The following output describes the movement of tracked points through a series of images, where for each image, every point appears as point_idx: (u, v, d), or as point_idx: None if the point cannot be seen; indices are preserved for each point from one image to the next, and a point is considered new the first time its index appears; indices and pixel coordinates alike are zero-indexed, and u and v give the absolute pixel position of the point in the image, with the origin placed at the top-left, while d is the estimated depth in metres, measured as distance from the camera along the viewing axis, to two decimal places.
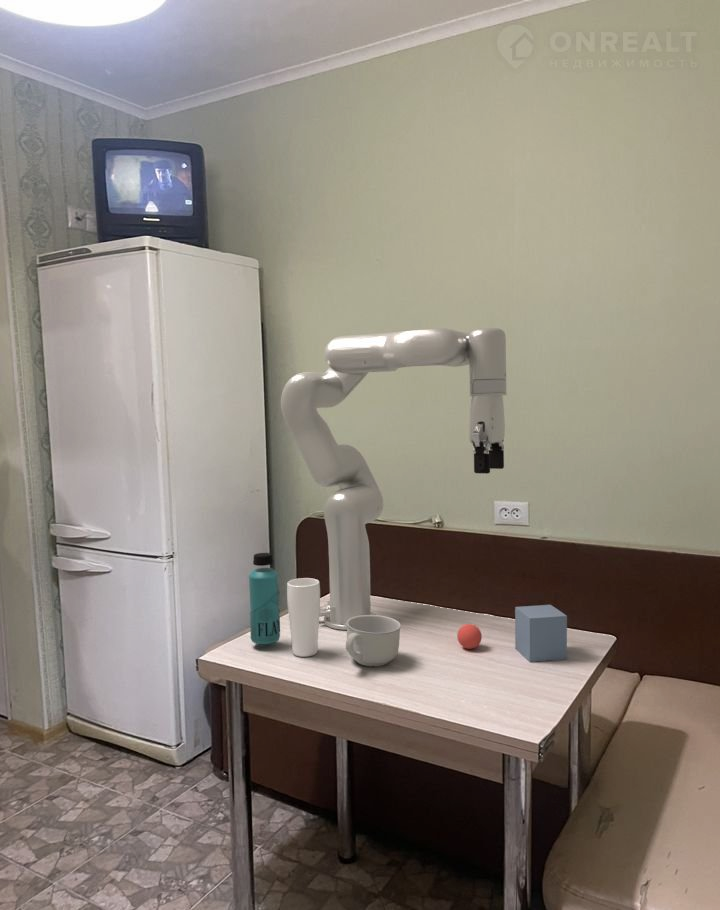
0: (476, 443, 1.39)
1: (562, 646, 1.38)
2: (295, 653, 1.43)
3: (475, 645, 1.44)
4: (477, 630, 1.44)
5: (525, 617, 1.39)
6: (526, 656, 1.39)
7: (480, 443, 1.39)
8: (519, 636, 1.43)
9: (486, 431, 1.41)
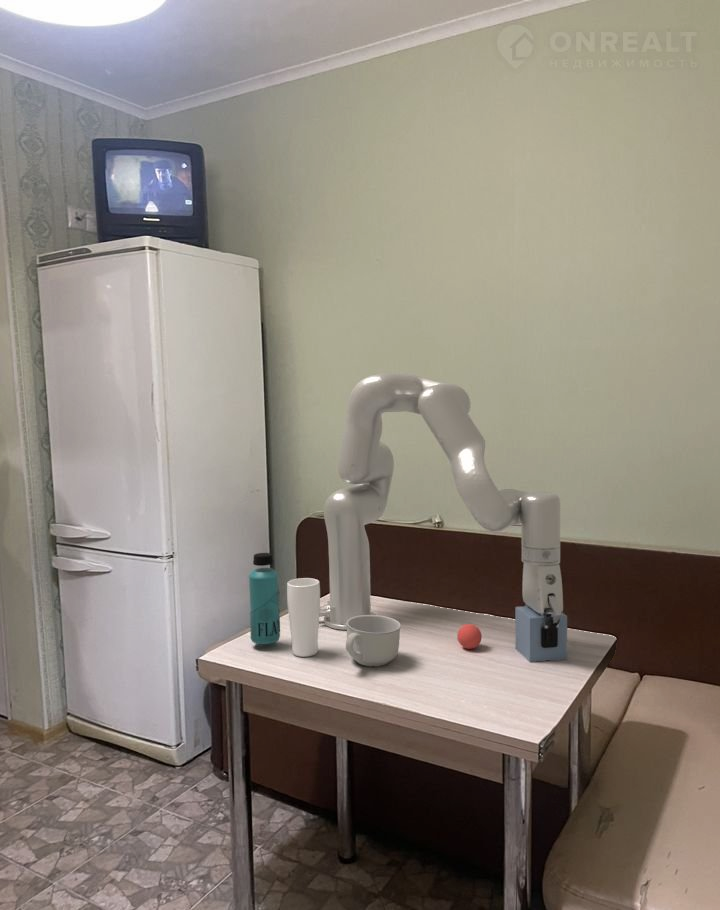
0: None
1: (562, 646, 1.38)
2: (295, 653, 1.43)
3: (475, 645, 1.44)
4: (477, 630, 1.44)
5: (525, 617, 1.39)
6: (526, 656, 1.39)
7: None
8: (519, 636, 1.43)
9: None
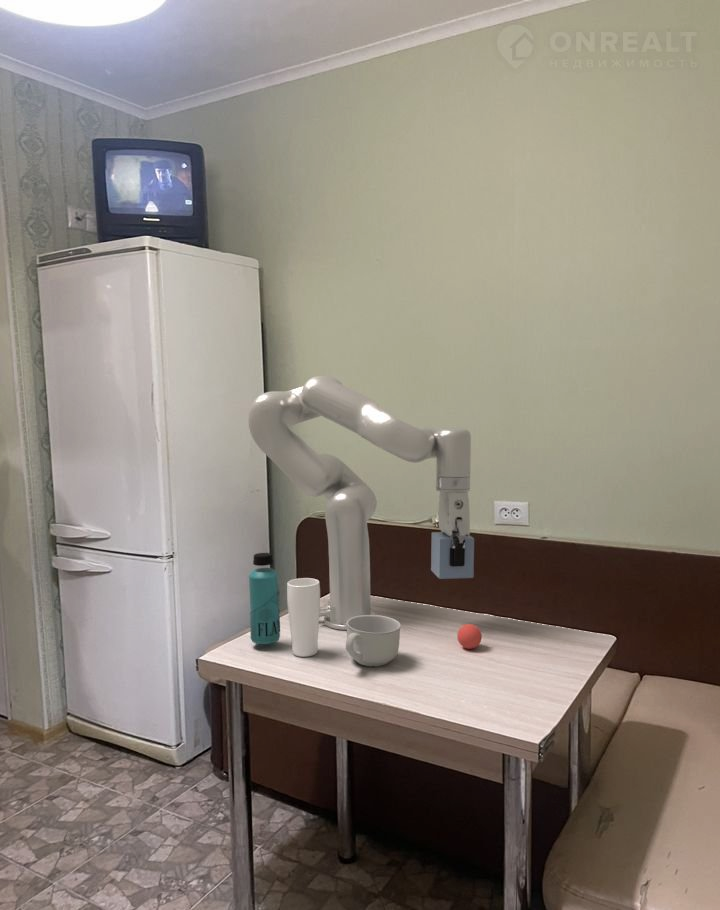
0: None
1: (469, 566, 1.54)
2: (295, 653, 1.43)
3: (475, 645, 1.44)
4: (477, 630, 1.44)
5: (437, 539, 1.54)
6: (437, 574, 1.55)
7: None
8: (433, 558, 1.58)
9: None
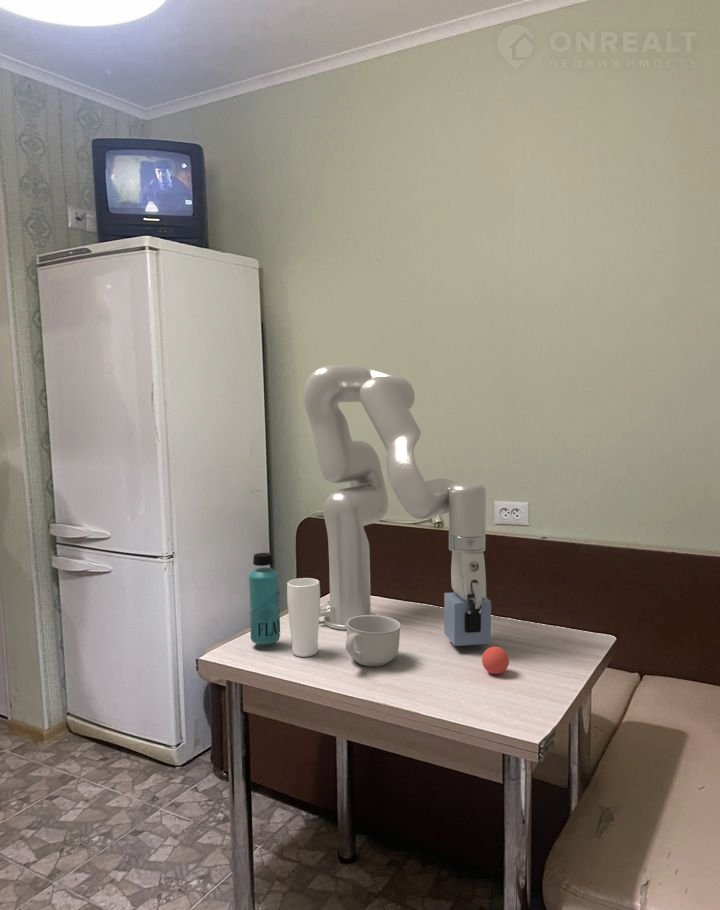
0: None
1: (486, 631, 1.43)
2: (295, 653, 1.43)
3: (502, 659, 1.30)
4: (500, 648, 1.33)
5: (451, 602, 1.44)
6: (452, 640, 1.44)
7: None
8: (447, 621, 1.48)
9: None
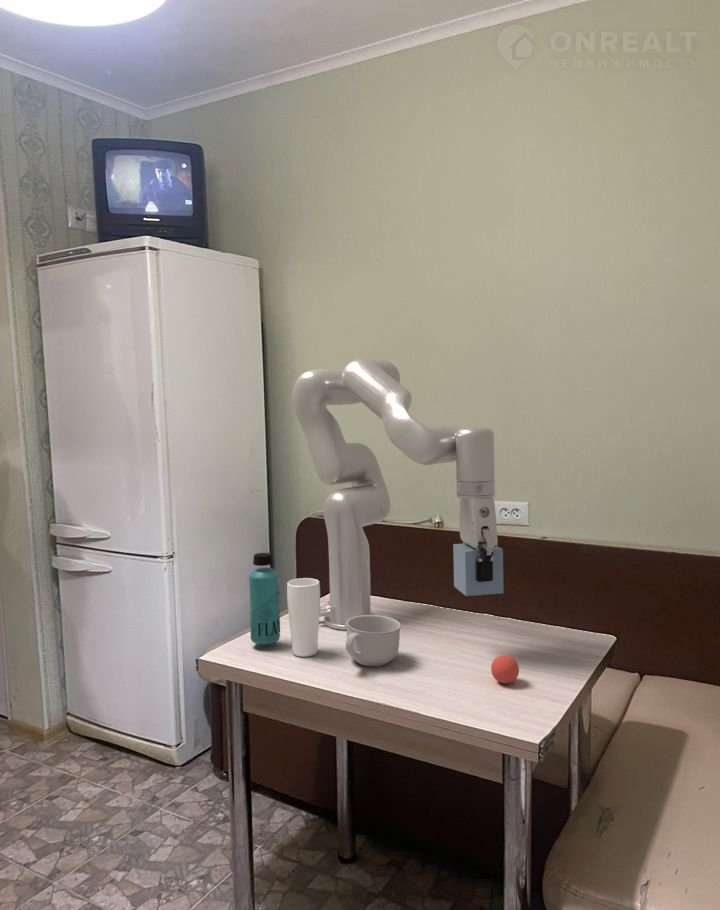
0: None
1: (498, 580, 1.37)
2: (295, 653, 1.43)
3: None
4: (516, 672, 1.26)
5: (461, 551, 1.38)
6: (463, 591, 1.38)
7: None
8: (457, 573, 1.42)
9: None
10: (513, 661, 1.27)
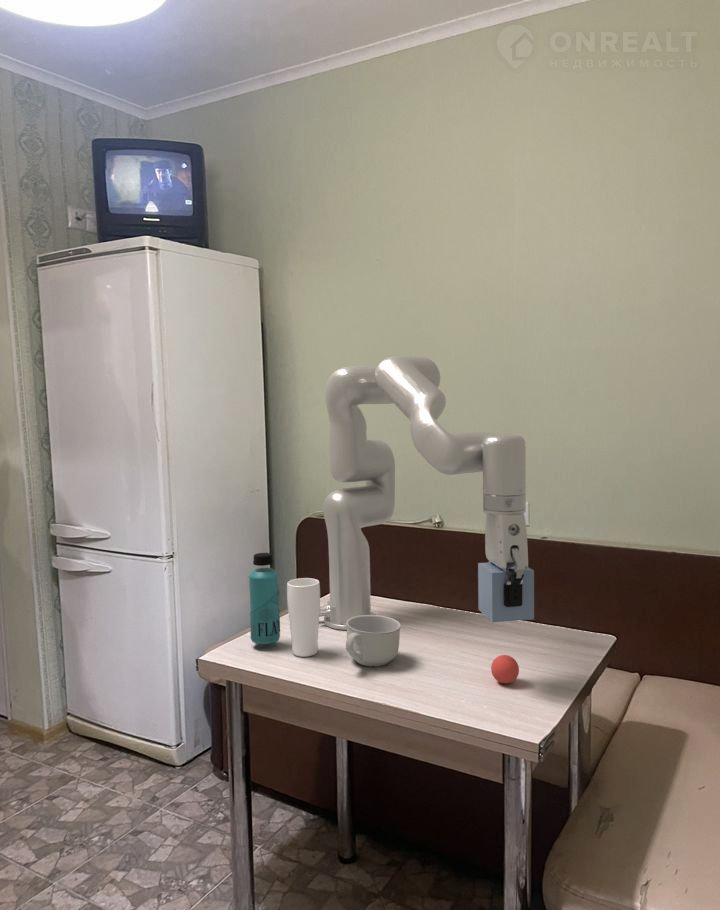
0: None
1: (529, 604, 1.24)
2: (295, 653, 1.43)
3: None
4: (516, 672, 1.26)
5: (488, 572, 1.24)
6: (489, 616, 1.24)
7: None
8: (482, 595, 1.28)
9: None
10: (513, 661, 1.27)
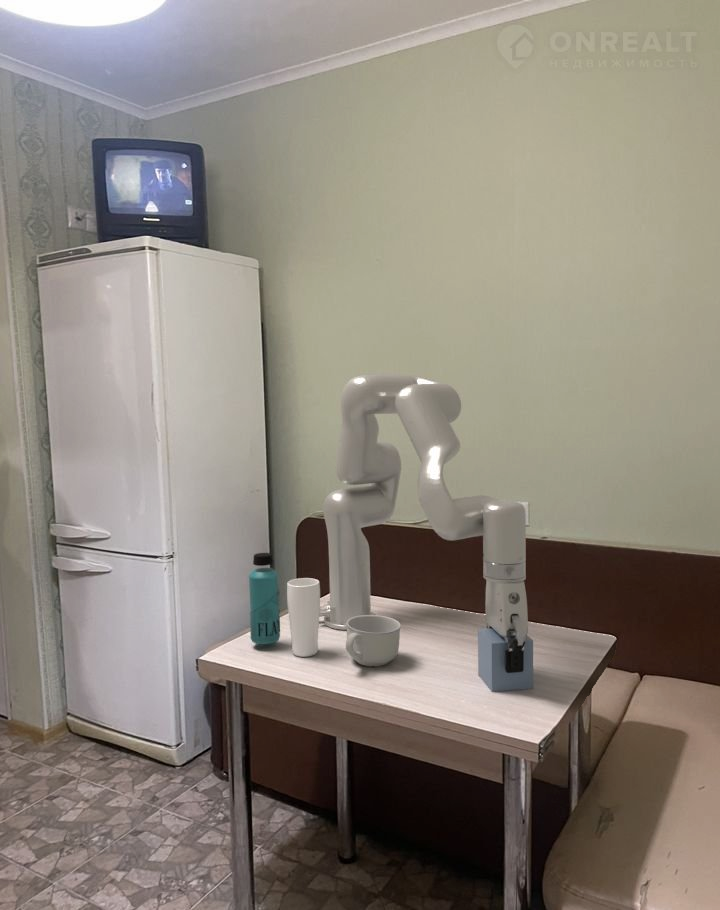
0: None
1: (528, 674, 1.25)
2: (295, 653, 1.43)
3: None
4: None
5: (488, 641, 1.25)
6: (488, 685, 1.26)
7: None
8: (481, 662, 1.29)
9: None
10: None
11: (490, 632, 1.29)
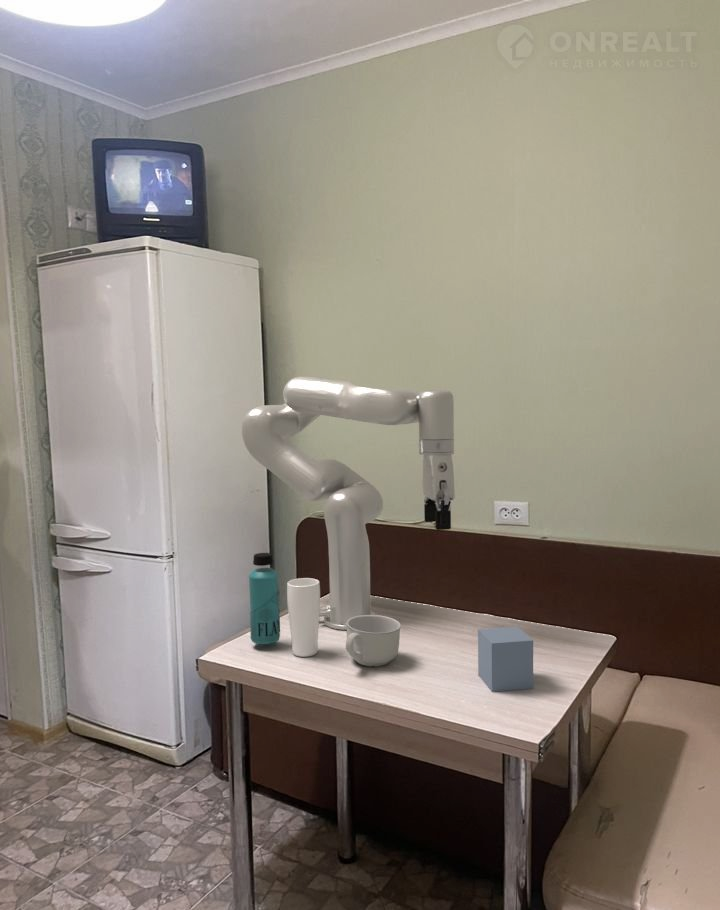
0: None
1: (528, 674, 1.25)
2: (295, 653, 1.43)
3: None
4: None
5: (488, 641, 1.25)
6: (488, 685, 1.26)
7: None
8: (481, 662, 1.29)
9: None
10: None
11: (490, 632, 1.29)
